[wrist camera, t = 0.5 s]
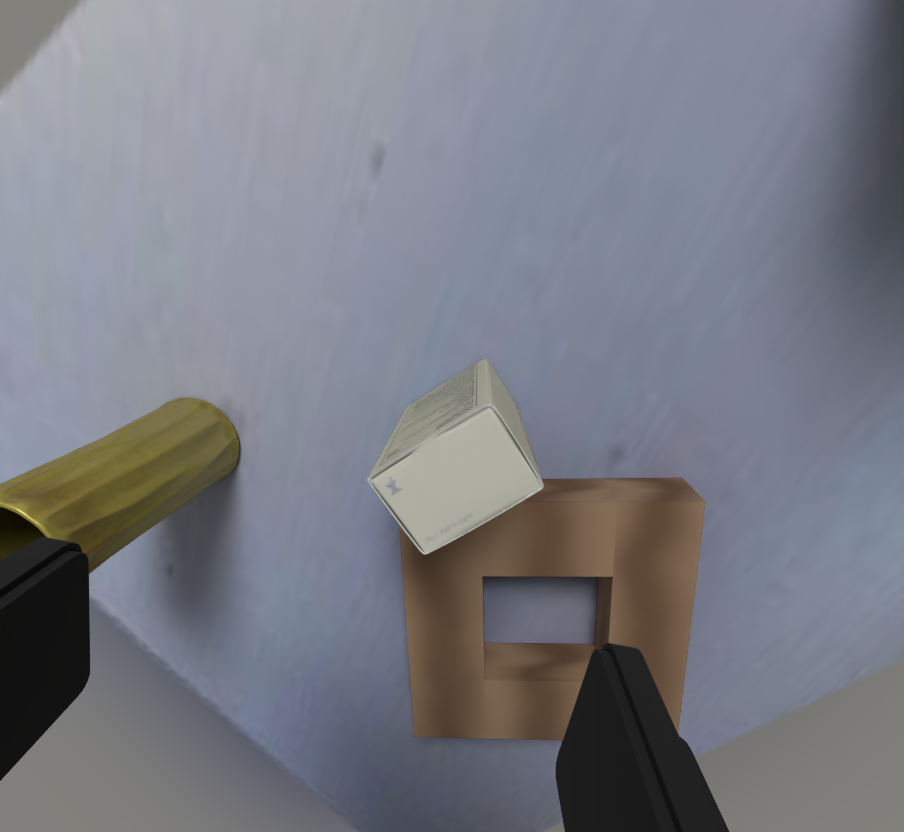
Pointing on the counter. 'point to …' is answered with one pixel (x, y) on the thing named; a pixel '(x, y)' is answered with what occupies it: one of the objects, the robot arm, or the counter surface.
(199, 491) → the vase
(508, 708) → the docking block
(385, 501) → the skincare box
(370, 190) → the counter surface
